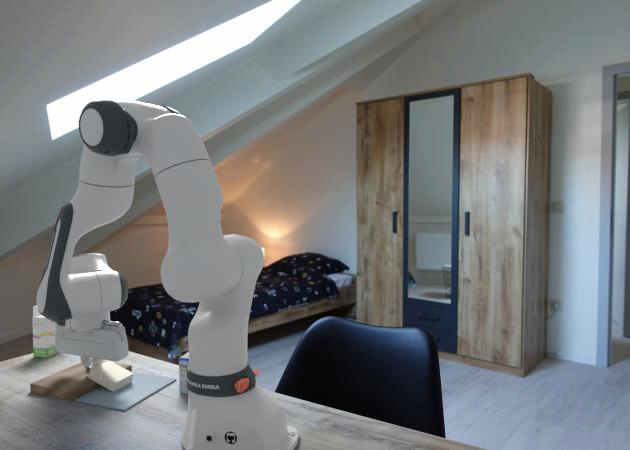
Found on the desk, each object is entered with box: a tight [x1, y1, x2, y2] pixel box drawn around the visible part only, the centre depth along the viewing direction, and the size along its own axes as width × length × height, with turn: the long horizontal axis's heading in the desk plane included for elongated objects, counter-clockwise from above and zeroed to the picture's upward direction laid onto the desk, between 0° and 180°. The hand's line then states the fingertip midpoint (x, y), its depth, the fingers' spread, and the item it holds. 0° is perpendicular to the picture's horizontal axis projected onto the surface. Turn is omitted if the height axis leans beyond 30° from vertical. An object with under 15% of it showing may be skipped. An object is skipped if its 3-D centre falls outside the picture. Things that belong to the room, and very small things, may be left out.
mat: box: [74, 370, 177, 412], centre depth 114 cm, size 14×18×1 cm
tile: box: [88, 360, 134, 392], centre depth 116 cm, size 8×6×2 cm
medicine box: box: [178, 351, 189, 395], centre depth 115 cm, size 8×4×9 cm, turn 168°
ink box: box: [32, 304, 60, 359], centre depth 140 cm, size 9×5×15 cm, turn 168°
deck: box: [29, 358, 133, 402], centre depth 119 cm, size 14×18×2 cm
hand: (92, 373), depth 118 cm, fingers closed
